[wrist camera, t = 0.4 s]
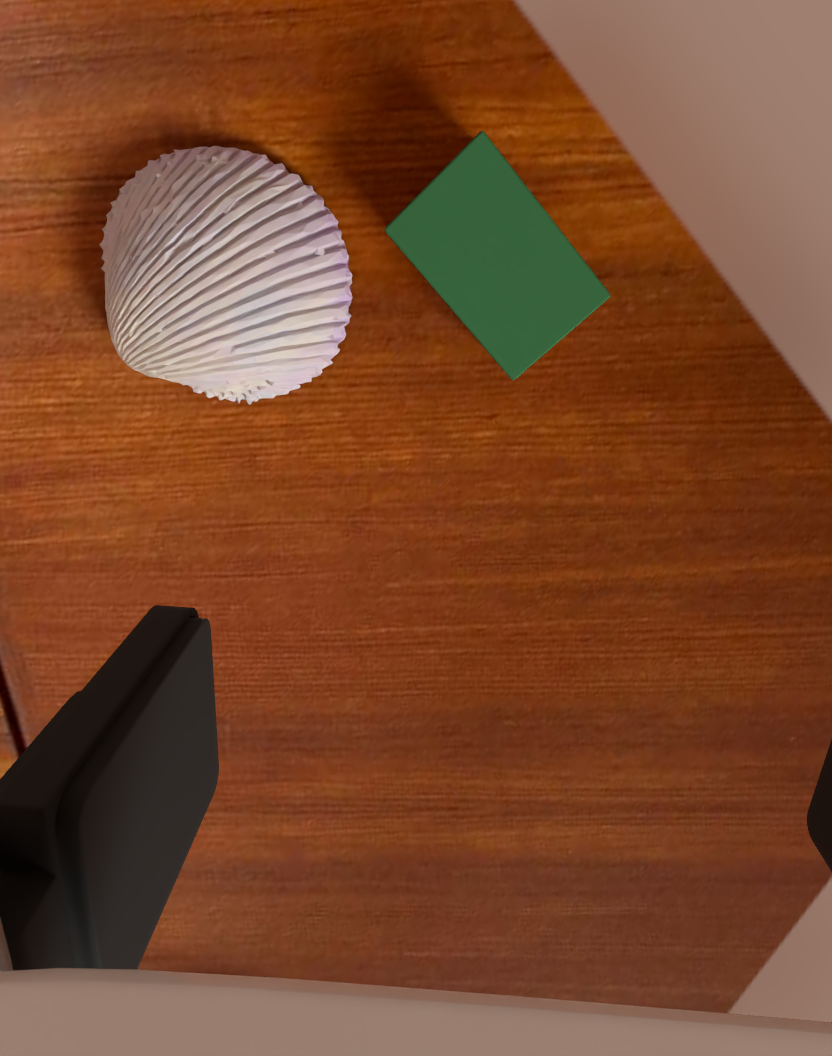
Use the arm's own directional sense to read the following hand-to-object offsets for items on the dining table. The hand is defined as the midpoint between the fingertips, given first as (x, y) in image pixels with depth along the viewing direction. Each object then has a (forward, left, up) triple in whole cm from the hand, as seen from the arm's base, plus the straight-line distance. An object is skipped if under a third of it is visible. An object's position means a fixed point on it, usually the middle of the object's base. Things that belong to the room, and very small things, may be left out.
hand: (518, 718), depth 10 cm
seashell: (-4, -11, -22) cm, 25 cm away
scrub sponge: (-6, 0, -22) cm, 23 cm away
